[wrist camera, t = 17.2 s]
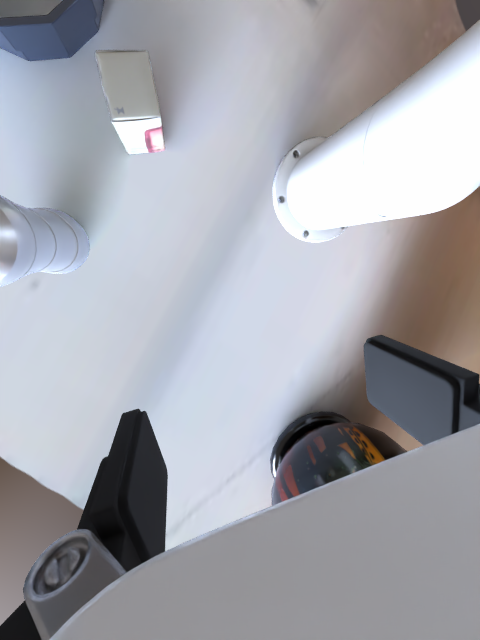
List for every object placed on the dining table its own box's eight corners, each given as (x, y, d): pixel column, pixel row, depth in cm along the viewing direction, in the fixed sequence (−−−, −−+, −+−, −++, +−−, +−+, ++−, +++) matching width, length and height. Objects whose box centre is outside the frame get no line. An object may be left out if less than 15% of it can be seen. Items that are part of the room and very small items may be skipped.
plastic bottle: (68, 200, 29) (-127, 108, 10) (107, 254, 32) (5, 260, 13) (15, 229, 29) (-286, 188, 10) (59, 282, 31) (-121, 331, 12)
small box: (166, 152, 30) (162, 119, 23) (127, 155, 30) (110, 122, 22) (155, 100, 29) (148, 47, 21) (114, 102, 28) (92, 48, 21)
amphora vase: (301, 373, 42) (512, 580, 16) (386, 422, 49) (631, 621, 23) (229, 479, 44) (309, 823, 18) (321, 511, 51) (477, 791, 25)
